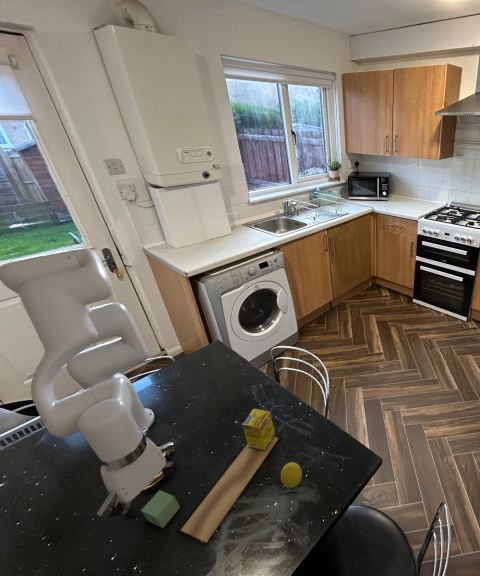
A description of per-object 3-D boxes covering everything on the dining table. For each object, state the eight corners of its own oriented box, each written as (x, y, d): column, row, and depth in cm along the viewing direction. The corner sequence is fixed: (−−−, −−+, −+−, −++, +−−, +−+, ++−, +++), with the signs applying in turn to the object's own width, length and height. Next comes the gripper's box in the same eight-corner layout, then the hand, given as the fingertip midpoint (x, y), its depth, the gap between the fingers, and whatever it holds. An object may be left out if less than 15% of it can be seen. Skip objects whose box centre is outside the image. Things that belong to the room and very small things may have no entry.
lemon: (285, 498, 83) (281, 480, 79) (281, 479, 87) (276, 462, 83) (305, 488, 85) (302, 471, 81) (300, 470, 89) (297, 453, 86)
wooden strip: (180, 530, 76) (180, 530, 76) (257, 431, 100) (257, 431, 100) (206, 543, 74) (206, 542, 74) (278, 438, 98) (278, 438, 98)
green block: (147, 521, 78) (140, 510, 75) (165, 500, 82) (159, 490, 79) (163, 528, 76) (156, 517, 74) (180, 507, 81) (174, 496, 78)
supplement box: (266, 452, 94) (259, 428, 89) (248, 448, 95) (241, 424, 90) (276, 434, 99) (270, 411, 94) (259, 431, 100) (252, 408, 95)
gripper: (149, 413, 75) (172, 458, 83) (65, 484, 60) (102, 529, 68) (173, 422, 73) (194, 466, 81) (92, 496, 58) (127, 542, 66)
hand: (152, 495), depth 74 cm, fingers open, 9 cm apart
